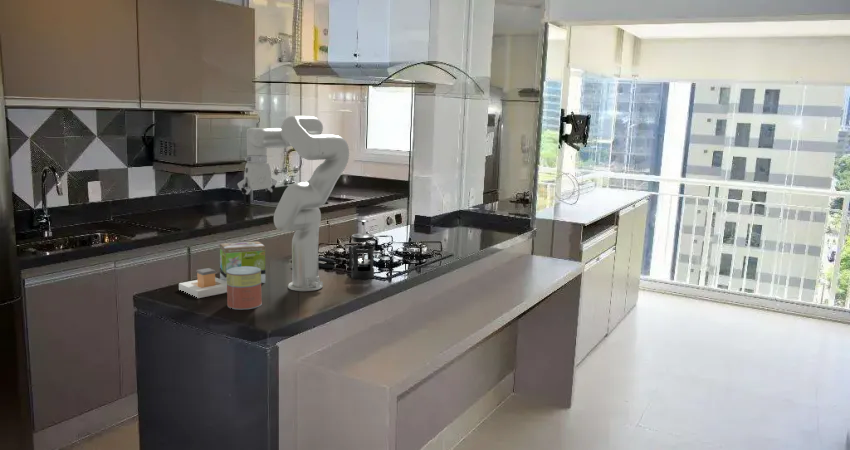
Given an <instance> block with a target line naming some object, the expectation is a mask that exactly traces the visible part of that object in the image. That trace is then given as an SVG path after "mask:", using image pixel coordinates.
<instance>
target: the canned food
mask: <svg viewBox="0 0 850 450" xmlns="http://www.w3.org/2000/svg"><path fill="white" fill-rule="evenodd" d="M226 272H227V292H226V296H227V299H226V302H227V303H226V305H227V308H229V309H231V308H232V310H240V311H241V310H243V311H244V310H245V311H246V310H252V309H253V310H254V309H257V308H259V307H261V306H262V304H263V302H262V283H261V269H260V268H258V267H253V266H240V267H233V268H230V269H227V270H226Z"/></svg>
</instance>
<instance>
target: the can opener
mask: <svg viewBox="0 0 850 450" xmlns="http://www.w3.org/2000/svg"><path fill="white" fill-rule="evenodd" d="M323 262H324V263H323ZM335 262H336V261H335V260H334V259H331V258H327V257H323V256H318V268H323V269H334V268H335V266H334V265H333V263H335ZM329 263H330V264H329ZM331 263H332V264H331Z"/></svg>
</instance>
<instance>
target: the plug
mask: <svg viewBox="0 0 850 450" xmlns="http://www.w3.org/2000/svg"><path fill="white" fill-rule="evenodd" d="M216 272H217V271H216V270H215V269H212V268H210V267H208V268H207V267H206V268H201V269H196V273H197V275H196V276H197V278H196V280H198V287H200V288H204V287H209V286H214V285H215V277H216Z"/></svg>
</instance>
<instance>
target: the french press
mask: <svg viewBox="0 0 850 450" xmlns="http://www.w3.org/2000/svg"><path fill="white" fill-rule="evenodd" d="M357 222H359V223H361V225H362V233H361V232H360V233H354V234H352V235H351V238H352V242H354V243H360V245H351V246H349V247H348V267H349V268H350V269H351V275H350V278H351V279H353V280H358V281H359V280H360V281H363V280H364V281H365V280H372V279H374V278H375V277H374V275H375V268H374V252H375V246H372V245H367V244H364V243H365V242H368V241H369V240H370V241H374V238H375V235H374V234H373V233H365V232H364V231H365V229H364V227H365V223H369V220H368V219H359V220H357ZM359 254H367V258H364V256H362V258H359ZM373 277H374V278H373Z"/></svg>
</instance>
